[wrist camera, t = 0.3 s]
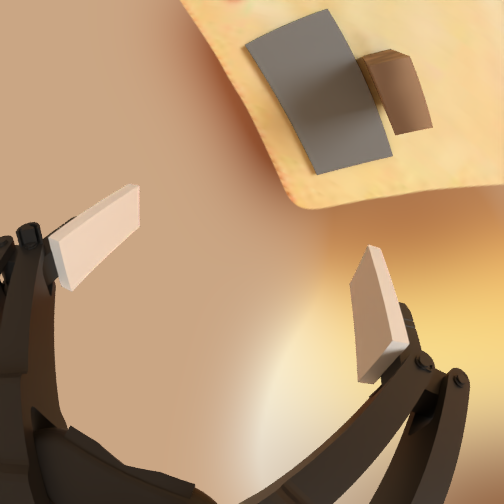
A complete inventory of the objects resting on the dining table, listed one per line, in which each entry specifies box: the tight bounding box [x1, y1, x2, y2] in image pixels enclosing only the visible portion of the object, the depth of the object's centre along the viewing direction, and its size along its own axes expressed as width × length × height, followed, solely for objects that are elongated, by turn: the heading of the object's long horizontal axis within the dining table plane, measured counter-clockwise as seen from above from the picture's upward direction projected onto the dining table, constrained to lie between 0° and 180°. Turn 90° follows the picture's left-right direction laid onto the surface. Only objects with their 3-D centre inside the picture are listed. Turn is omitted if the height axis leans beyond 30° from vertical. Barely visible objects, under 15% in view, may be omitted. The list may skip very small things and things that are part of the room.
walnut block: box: [362, 49, 433, 135], centre depth 22 cm, size 4×7×12 cm, turn 31°
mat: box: [245, 9, 393, 175], centre depth 31 cm, size 12×22×1 cm, turn 31°
